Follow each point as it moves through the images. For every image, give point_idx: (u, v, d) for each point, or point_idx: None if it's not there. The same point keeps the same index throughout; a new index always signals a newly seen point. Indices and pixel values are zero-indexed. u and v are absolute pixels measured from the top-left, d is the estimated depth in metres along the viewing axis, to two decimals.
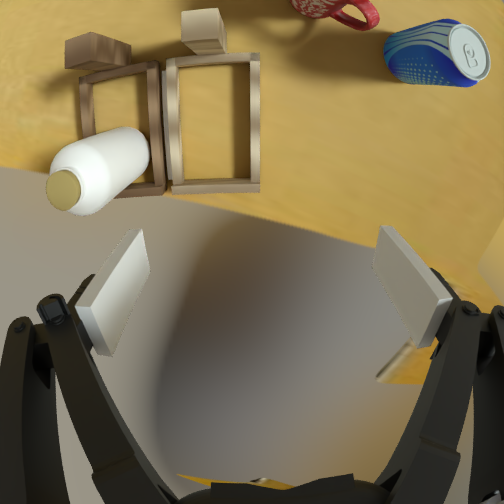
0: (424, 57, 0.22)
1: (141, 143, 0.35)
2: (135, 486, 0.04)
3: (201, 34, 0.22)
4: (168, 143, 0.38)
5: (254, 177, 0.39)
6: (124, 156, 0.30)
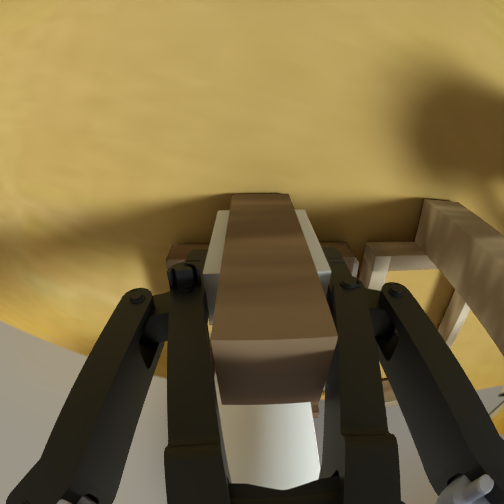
0: None
1: None
2: (206, 473, 0.04)
3: None
4: None
5: None
6: None
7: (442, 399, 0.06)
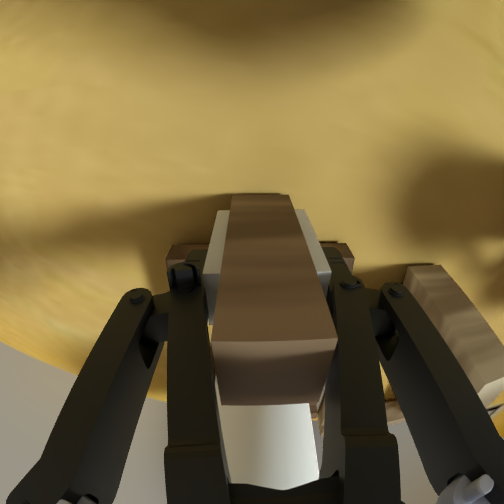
0: None
1: None
2: (206, 473, 0.04)
3: None
4: (322, 391, 0.28)
5: None
6: (315, 452, 0.18)
7: (442, 399, 0.06)
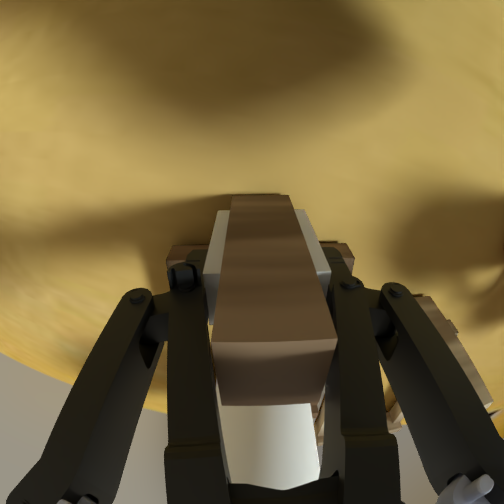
0: None
1: None
2: (206, 474, 0.04)
3: None
4: (318, 406, 0.30)
5: (397, 420, 0.31)
6: (317, 452, 0.18)
7: (442, 399, 0.06)
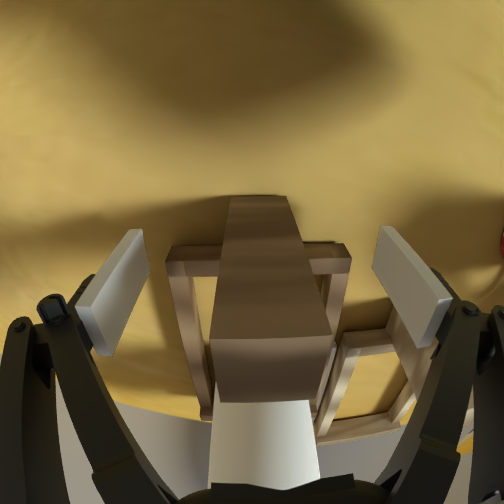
0: None
1: None
2: (135, 486, 0.04)
3: None
4: (317, 406, 0.30)
5: (396, 420, 0.31)
6: None
7: None
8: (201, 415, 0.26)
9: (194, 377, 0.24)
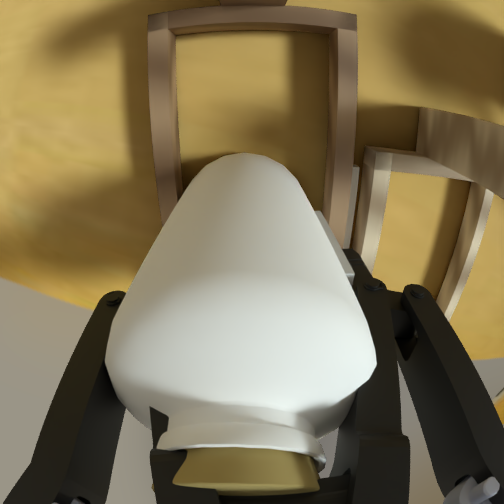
0: None
1: None
2: None
3: None
4: None
5: None
6: None
7: (455, 399, 0.06)
8: None
9: (163, 205, 0.18)
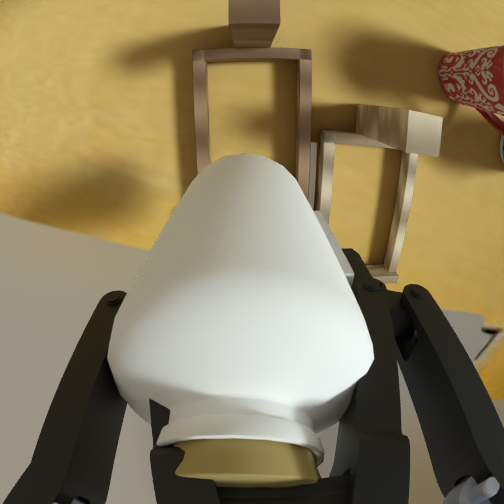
0: None
1: None
2: None
3: (425, 148, 0.20)
4: None
5: (392, 267, 0.37)
6: None
7: (455, 399, 0.06)
8: None
9: (199, 161, 0.30)
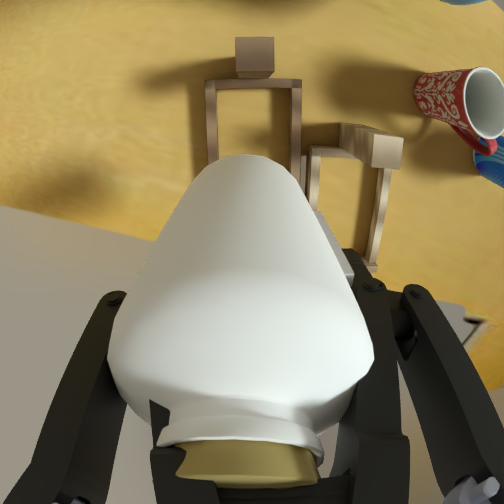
0: None
1: None
2: None
3: (388, 163, 0.27)
4: None
5: (372, 259, 0.45)
6: None
7: (455, 399, 0.06)
8: None
9: None
